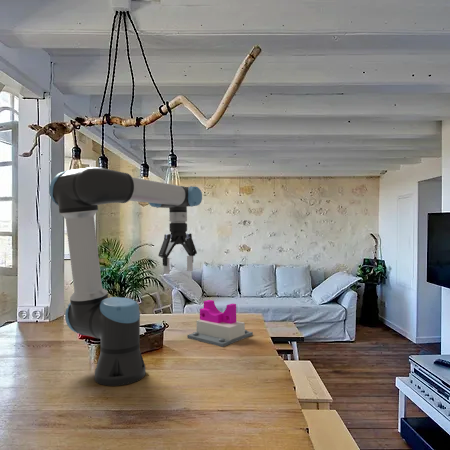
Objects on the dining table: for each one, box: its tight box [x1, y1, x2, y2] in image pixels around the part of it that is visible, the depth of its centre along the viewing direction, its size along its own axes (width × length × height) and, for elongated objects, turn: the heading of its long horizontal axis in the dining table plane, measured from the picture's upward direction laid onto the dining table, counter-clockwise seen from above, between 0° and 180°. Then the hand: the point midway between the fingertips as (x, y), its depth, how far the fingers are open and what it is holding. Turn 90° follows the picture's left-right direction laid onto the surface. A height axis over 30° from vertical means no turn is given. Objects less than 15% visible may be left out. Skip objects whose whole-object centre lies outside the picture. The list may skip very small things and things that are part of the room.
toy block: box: [199, 299, 237, 324], centre depth 158 cm, size 15×6×8 cm, turn 51°
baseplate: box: [186, 319, 254, 348], centre depth 156 cm, size 20×19×6 cm
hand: (178, 272), depth 159 cm, fingers open, 13 cm apart
